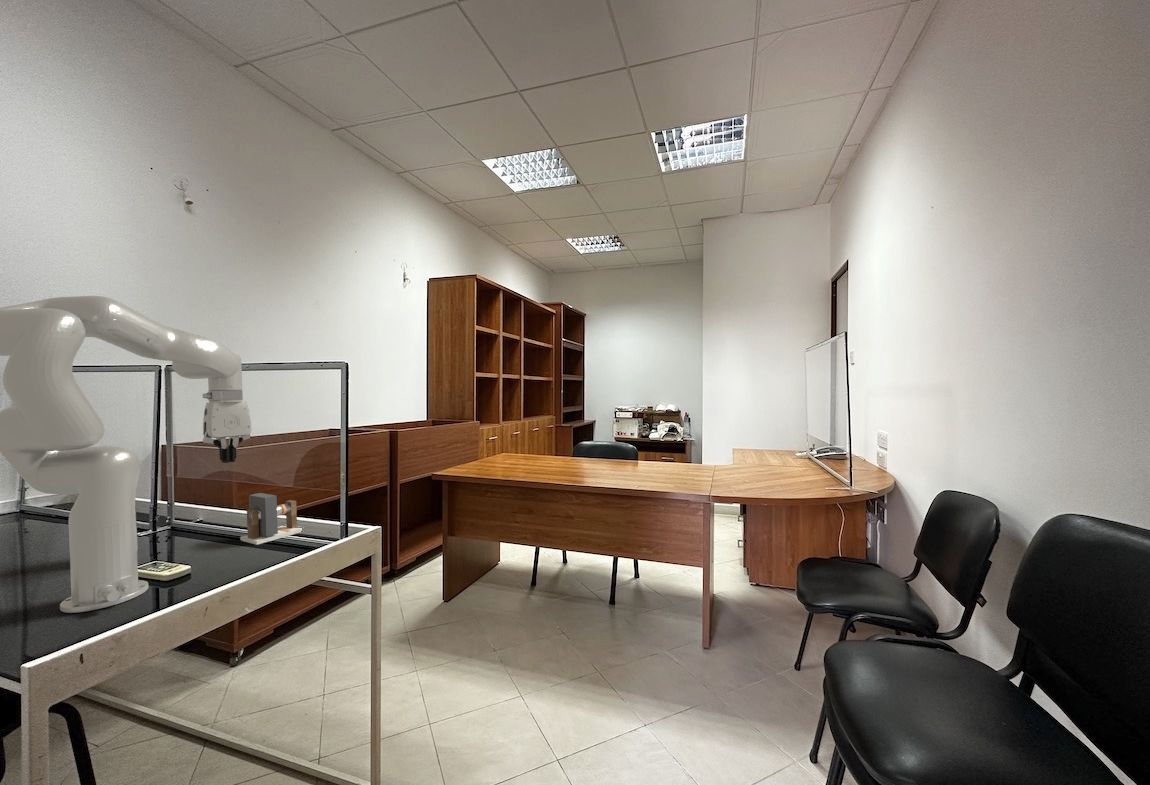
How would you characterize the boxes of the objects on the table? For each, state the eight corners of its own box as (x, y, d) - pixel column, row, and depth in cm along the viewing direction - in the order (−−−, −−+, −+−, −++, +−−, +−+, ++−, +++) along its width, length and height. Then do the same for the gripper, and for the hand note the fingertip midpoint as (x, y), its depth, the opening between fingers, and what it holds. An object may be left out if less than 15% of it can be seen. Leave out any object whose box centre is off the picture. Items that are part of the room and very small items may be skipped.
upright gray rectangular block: (277, 533, 128) (276, 495, 128) (266, 536, 125) (265, 497, 125) (261, 529, 132) (260, 492, 132) (250, 532, 130) (248, 495, 130)
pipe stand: (304, 531, 134) (303, 501, 134) (256, 544, 123) (255, 512, 123) (288, 527, 139) (287, 498, 139) (240, 540, 127) (239, 509, 127)
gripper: (198, 397, 116) (201, 467, 116) (262, 396, 130) (264, 458, 130) (186, 398, 120) (188, 465, 120) (249, 396, 133) (251, 457, 133)
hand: (228, 461), depth 125 cm, fingers closed
